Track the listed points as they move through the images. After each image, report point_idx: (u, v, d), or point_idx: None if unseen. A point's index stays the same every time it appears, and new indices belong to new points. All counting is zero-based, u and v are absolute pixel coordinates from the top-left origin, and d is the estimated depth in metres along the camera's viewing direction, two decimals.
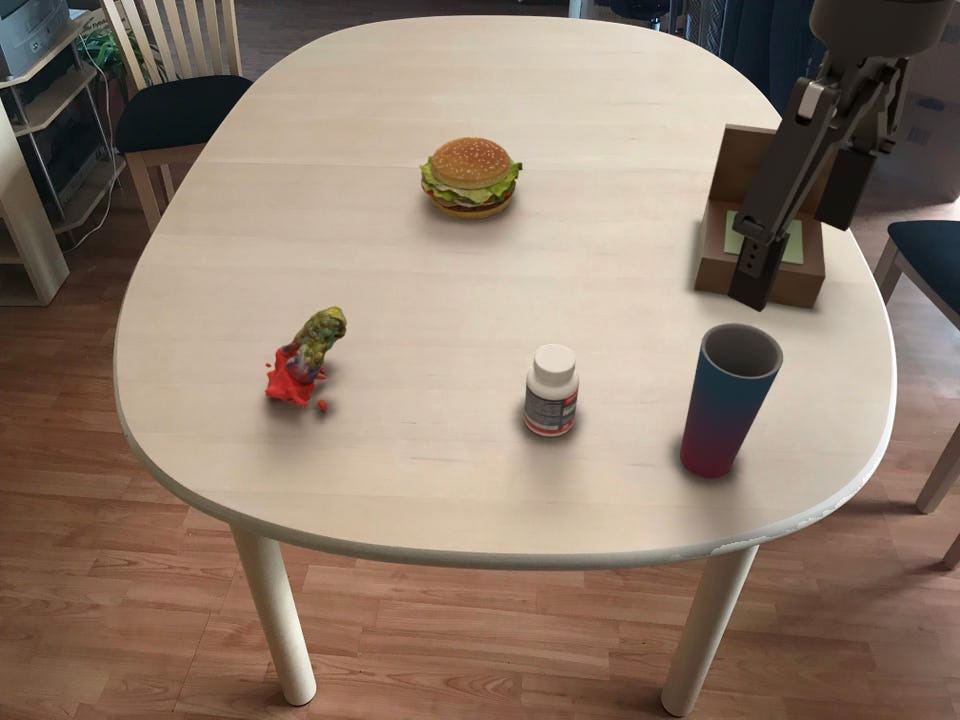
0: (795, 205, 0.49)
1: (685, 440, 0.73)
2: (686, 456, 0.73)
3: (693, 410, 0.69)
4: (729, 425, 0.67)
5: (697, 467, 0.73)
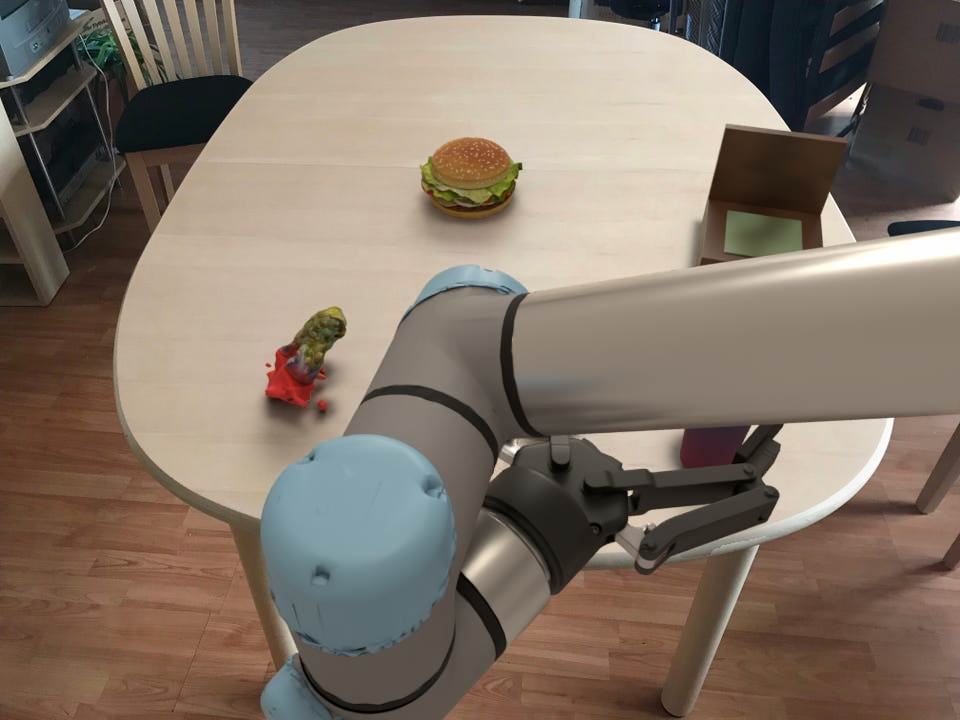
0: (722, 479, 0.47)
1: (685, 440, 0.73)
2: (686, 456, 0.73)
3: None
4: None
5: (697, 467, 0.73)
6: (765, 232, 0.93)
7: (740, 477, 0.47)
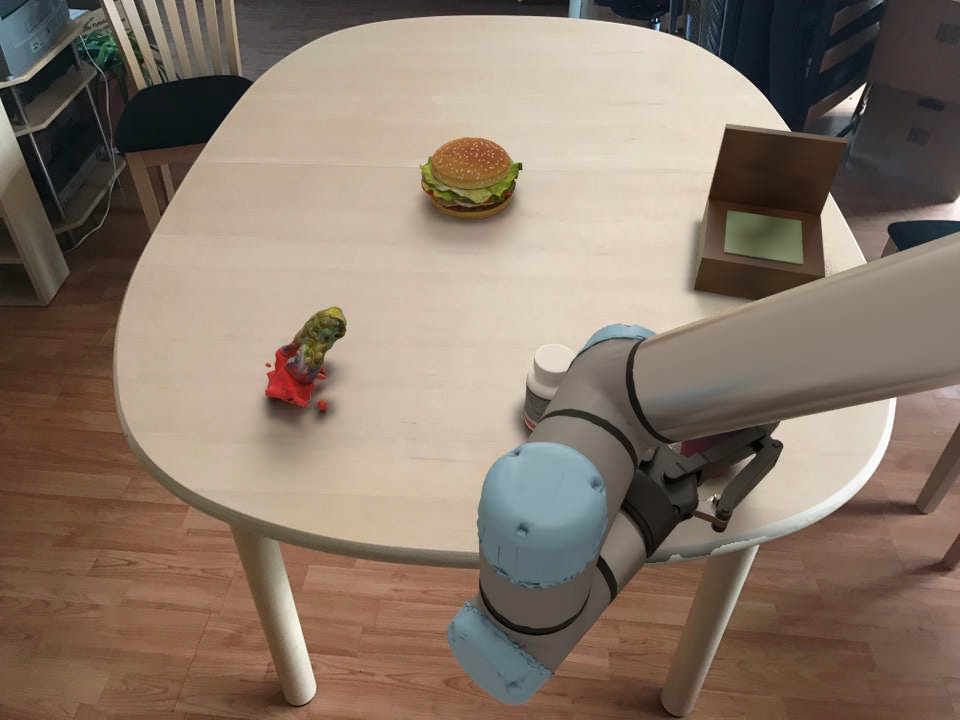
0: (748, 441, 0.64)
1: None
2: (686, 456, 0.73)
3: None
4: None
5: None
6: (765, 232, 0.93)
7: (758, 436, 0.65)
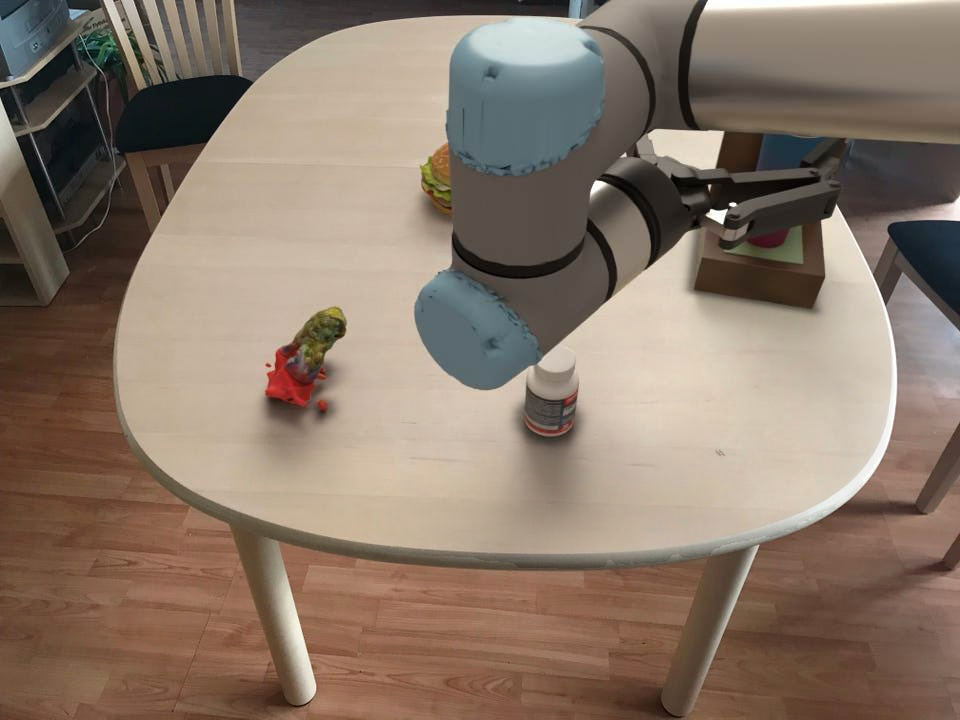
0: (791, 177, 0.54)
1: None
2: None
3: None
4: None
5: (758, 237, 0.90)
6: None
7: (807, 176, 0.54)
